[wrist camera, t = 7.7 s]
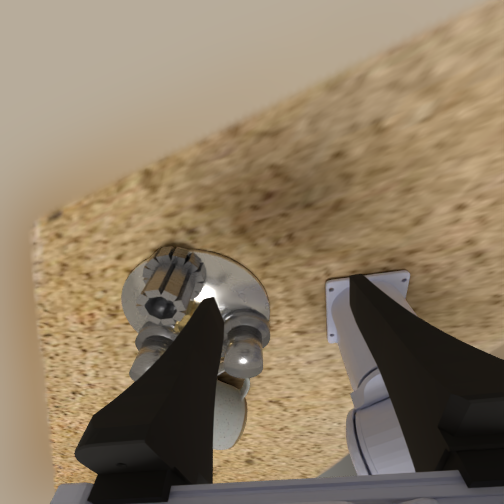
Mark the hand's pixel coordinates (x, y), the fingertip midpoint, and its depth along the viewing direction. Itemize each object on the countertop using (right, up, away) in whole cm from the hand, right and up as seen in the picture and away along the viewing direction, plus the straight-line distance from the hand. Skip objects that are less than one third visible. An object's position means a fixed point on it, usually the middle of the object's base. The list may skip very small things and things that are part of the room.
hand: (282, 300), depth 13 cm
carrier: (-8, -4, +14) cm, 17 cm away
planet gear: (-9, +1, +11) cm, 14 cm away
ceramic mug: (-7, -15, +22) cm, 27 cm away
